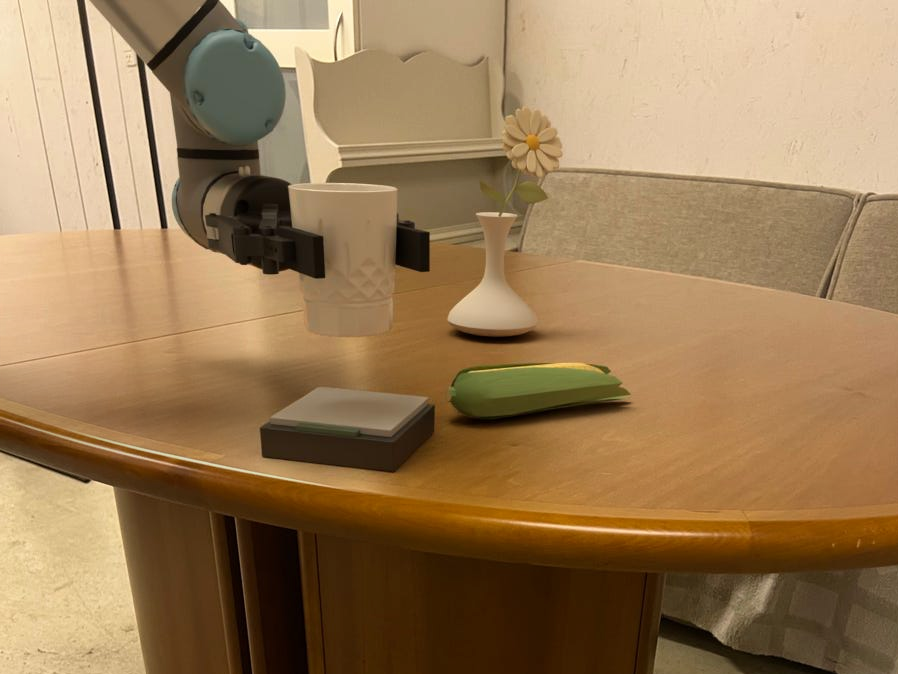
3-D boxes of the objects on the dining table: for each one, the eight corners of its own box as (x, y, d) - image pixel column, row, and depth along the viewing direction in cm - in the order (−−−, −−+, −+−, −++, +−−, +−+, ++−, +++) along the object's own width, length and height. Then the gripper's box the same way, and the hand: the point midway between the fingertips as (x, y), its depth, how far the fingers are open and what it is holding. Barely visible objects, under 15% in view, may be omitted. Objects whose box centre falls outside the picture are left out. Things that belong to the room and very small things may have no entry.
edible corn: (435, 415, 84) (435, 364, 82) (615, 395, 93) (620, 348, 91) (460, 431, 81) (461, 378, 78) (646, 408, 89) (652, 360, 87)
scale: (394, 472, 71) (393, 434, 69) (261, 456, 73) (258, 419, 72) (434, 431, 80) (435, 397, 79) (316, 419, 82) (314, 385, 81)
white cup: (324, 343, 67) (316, 192, 62) (281, 324, 73) (270, 183, 68) (417, 334, 71) (417, 190, 66) (370, 316, 77) (366, 182, 72)
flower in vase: (453, 343, 111) (457, 103, 99) (441, 324, 121) (444, 103, 108) (559, 343, 113) (576, 108, 101) (539, 325, 123) (552, 107, 110)
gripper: (135, 175, 76) (227, 198, 59) (362, 174, 85) (496, 194, 69) (149, 272, 79) (239, 321, 63) (365, 261, 89) (493, 300, 72)
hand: (373, 254), depth 66 cm, fingers closed on white cup, 8 cm apart
